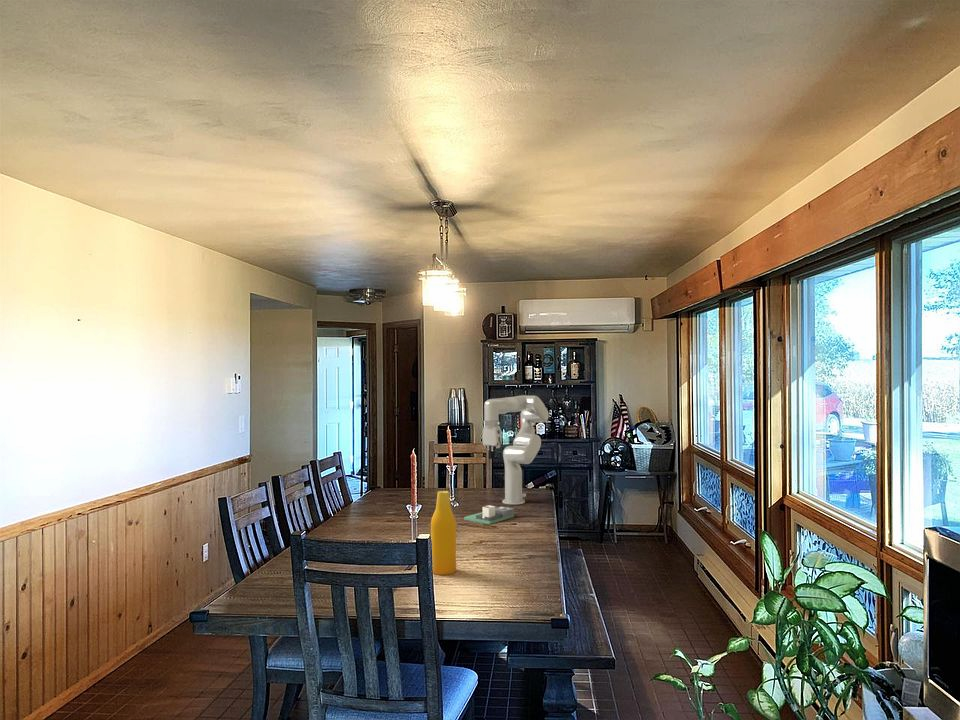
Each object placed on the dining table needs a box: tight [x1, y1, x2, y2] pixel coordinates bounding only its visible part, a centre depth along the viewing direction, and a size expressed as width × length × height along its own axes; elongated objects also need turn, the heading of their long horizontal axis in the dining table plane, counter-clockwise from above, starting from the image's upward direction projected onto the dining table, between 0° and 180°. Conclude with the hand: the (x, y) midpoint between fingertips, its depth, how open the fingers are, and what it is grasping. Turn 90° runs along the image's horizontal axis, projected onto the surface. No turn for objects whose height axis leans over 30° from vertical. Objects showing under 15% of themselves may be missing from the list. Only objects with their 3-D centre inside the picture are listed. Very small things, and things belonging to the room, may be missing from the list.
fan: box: [495, 506, 515, 517], centre depth 321 cm, size 8×8×4 cm
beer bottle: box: [430, 490, 457, 576], centre depth 234 cm, size 9×9×29 cm
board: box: [463, 511, 515, 525], centre depth 319 cm, size 20×16×1 cm
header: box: [476, 513, 502, 521], centre depth 314 cm, size 10×9×2 cm
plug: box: [482, 504, 496, 517], centre depth 314 cm, size 5×4×5 cm
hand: (491, 458), depth 339 cm, fingers closed
